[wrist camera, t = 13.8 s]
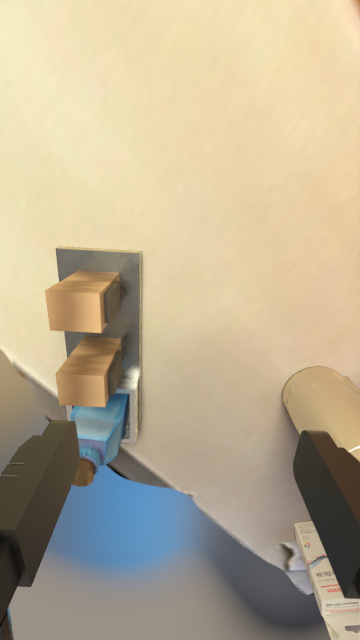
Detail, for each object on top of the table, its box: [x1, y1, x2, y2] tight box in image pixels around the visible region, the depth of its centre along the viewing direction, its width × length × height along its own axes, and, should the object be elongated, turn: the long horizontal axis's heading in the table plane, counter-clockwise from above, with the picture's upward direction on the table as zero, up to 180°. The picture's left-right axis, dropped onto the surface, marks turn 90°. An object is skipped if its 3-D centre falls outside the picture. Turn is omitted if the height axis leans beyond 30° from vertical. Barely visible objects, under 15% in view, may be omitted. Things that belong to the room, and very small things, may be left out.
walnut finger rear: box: [56, 337, 122, 407], centre depth 34 cm, size 6×4×9 cm
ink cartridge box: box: [294, 521, 360, 640], centre depth 47 cm, size 9×5×15 cm, turn 102°
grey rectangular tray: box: [56, 247, 142, 444], centre depth 38 cm, size 10×27×4 cm, turn 177°
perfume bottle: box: [71, 393, 129, 486], centre depth 36 cm, size 6×6×12 cm
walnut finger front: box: [45, 270, 121, 333], centre depth 31 cm, size 6×4×9 cm
